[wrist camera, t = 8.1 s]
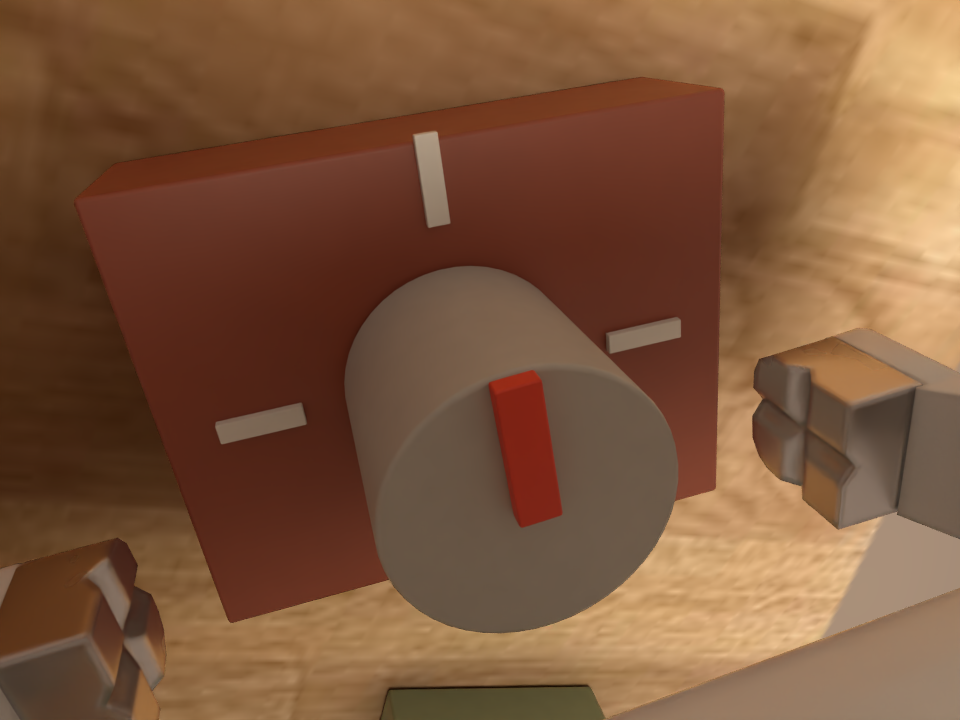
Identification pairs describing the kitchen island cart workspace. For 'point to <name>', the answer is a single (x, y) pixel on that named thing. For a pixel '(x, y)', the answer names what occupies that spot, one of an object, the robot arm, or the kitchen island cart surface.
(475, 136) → the panel
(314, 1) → the kitchen island cart surface
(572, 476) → the knob
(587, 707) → the green rectangular box
